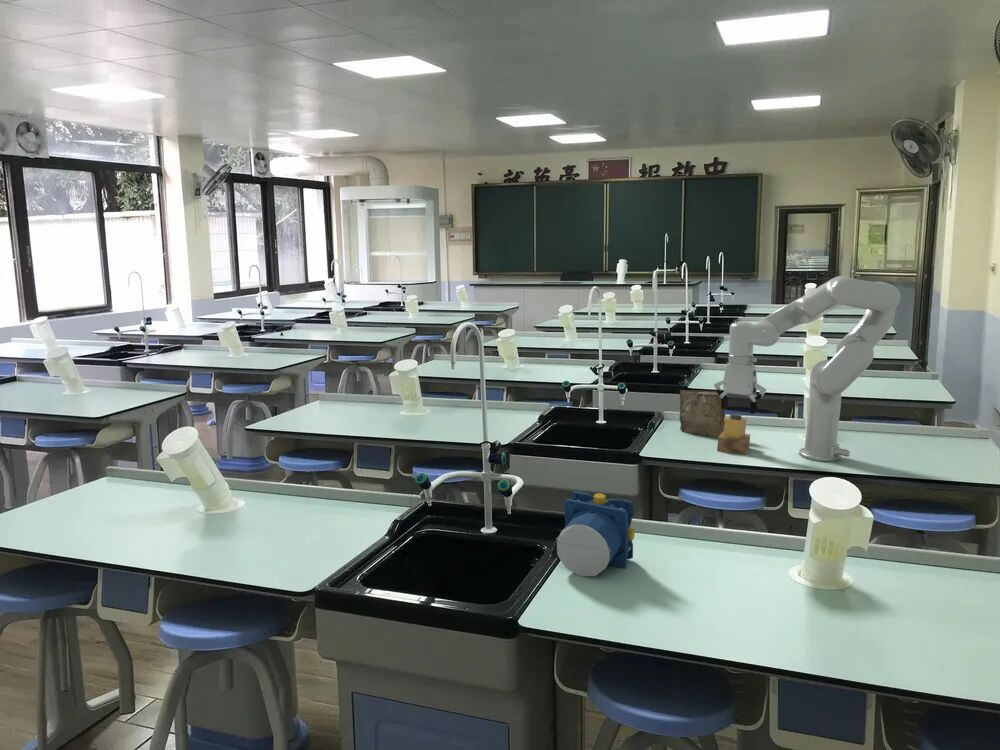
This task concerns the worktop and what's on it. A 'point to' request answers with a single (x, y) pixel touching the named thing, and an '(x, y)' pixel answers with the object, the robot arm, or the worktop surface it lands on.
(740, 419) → the canister
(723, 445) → the specimen box
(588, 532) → the valve
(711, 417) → the mineral sample
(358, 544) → the worktop surface
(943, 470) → the worktop surface
